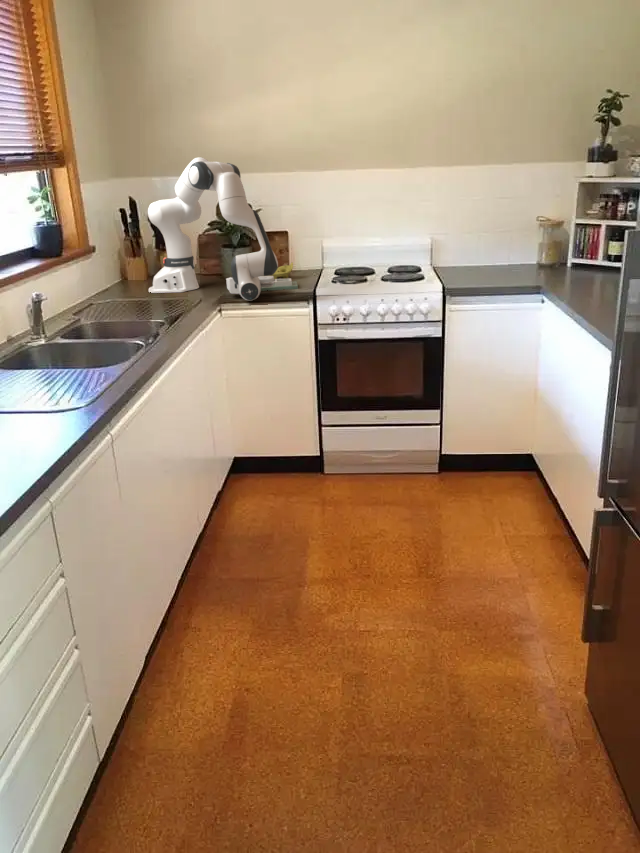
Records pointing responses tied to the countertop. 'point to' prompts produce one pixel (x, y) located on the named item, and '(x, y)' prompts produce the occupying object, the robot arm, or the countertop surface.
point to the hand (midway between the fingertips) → (250, 279)
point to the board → (282, 285)
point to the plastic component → (283, 271)
